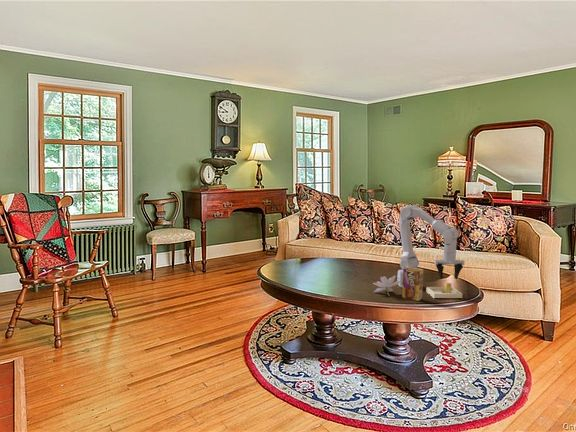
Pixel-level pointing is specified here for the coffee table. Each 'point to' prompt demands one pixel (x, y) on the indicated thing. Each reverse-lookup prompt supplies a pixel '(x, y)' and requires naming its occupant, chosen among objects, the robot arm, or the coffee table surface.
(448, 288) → the peg
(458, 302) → the coffee table surface
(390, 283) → the water lily
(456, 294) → the bore box
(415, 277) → the candy box
